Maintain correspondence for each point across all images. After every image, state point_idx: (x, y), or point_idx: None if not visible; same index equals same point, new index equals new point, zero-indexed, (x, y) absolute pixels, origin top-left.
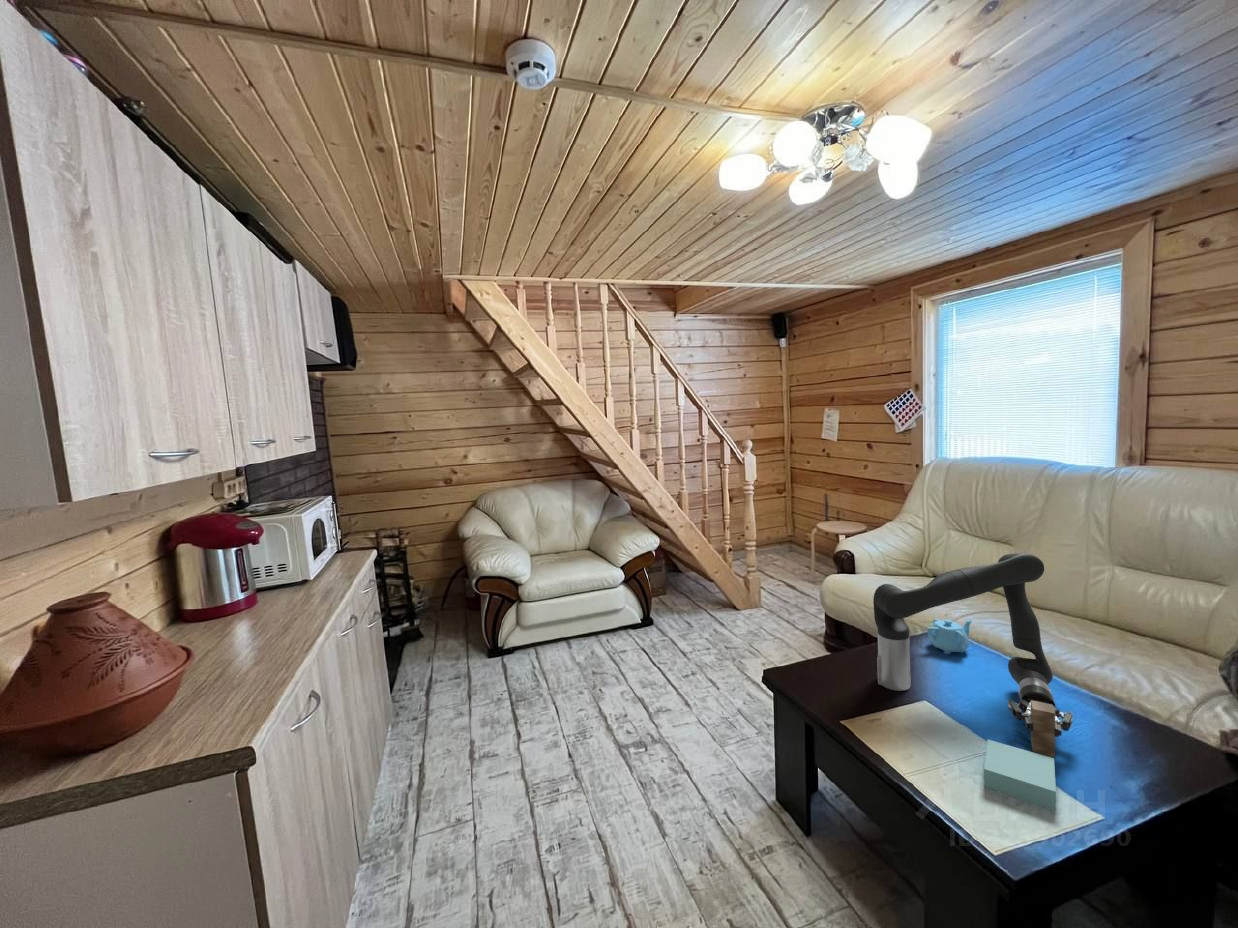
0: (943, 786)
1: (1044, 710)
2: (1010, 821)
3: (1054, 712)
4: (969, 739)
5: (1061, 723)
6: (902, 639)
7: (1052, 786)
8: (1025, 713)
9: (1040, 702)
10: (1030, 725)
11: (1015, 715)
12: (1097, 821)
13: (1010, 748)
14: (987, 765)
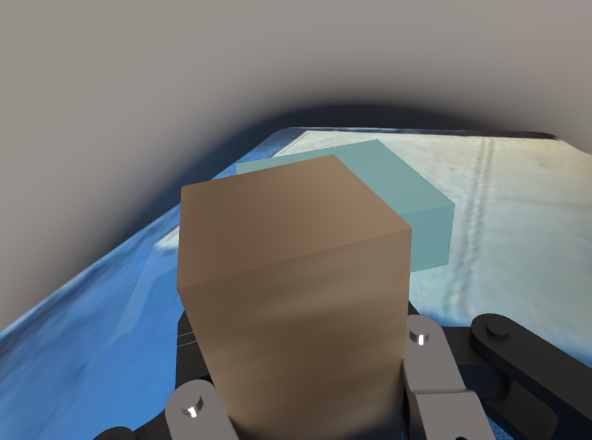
0: (426, 153)
1: (257, 178)
2: None
3: (185, 193)
4: (568, 303)
5: (160, 420)
6: None
7: (243, 169)
8: (433, 327)
9: (311, 248)
10: None
11: (523, 391)
12: (172, 229)
13: None
14: (378, 146)
